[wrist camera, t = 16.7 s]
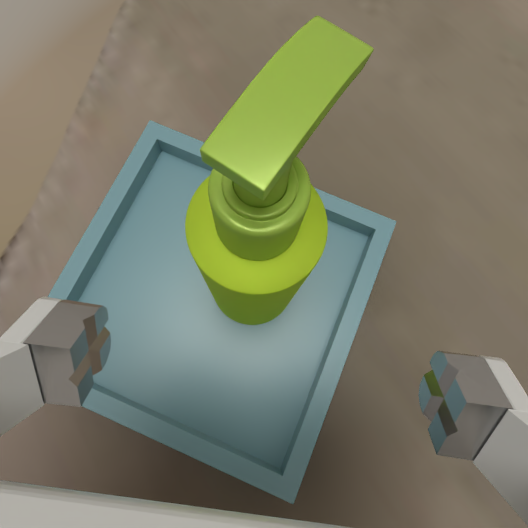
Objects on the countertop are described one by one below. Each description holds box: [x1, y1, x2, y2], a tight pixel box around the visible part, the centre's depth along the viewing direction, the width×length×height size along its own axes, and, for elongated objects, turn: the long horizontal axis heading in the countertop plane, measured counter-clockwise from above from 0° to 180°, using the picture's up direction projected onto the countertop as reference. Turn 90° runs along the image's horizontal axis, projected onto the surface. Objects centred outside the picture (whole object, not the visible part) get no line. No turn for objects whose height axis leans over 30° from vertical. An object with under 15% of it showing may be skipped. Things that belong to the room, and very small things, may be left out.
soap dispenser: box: [185, 16, 374, 325], centre depth 19 cm, size 6×7×20 cm
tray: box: [48, 120, 396, 504], centre depth 28 cm, size 20×20×2 cm
